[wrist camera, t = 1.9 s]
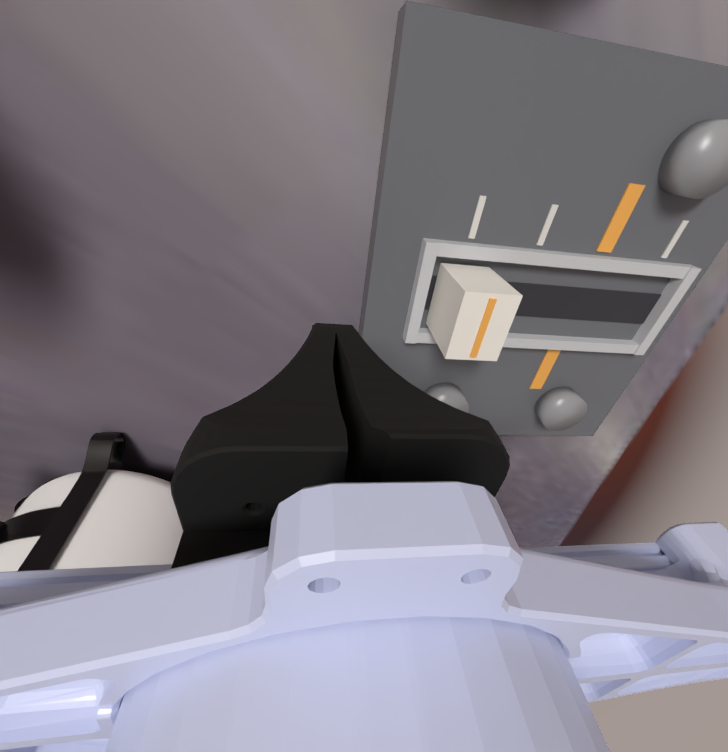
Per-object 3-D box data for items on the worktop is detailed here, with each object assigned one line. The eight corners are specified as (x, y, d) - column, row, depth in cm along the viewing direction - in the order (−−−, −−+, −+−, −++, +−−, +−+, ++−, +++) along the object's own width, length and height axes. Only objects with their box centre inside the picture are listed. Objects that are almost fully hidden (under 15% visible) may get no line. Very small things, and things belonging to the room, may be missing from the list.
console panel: (580, 421, 27) (603, 448, 25) (347, 418, 24) (350, 447, 22) (792, 90, 16) (868, 85, 13) (398, 11, 13) (414, -11, 11)
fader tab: (470, 325, 19) (497, 362, 16) (425, 322, 19) (445, 359, 16) (489, 267, 17) (524, 296, 14) (440, 263, 17) (465, 292, 14)
